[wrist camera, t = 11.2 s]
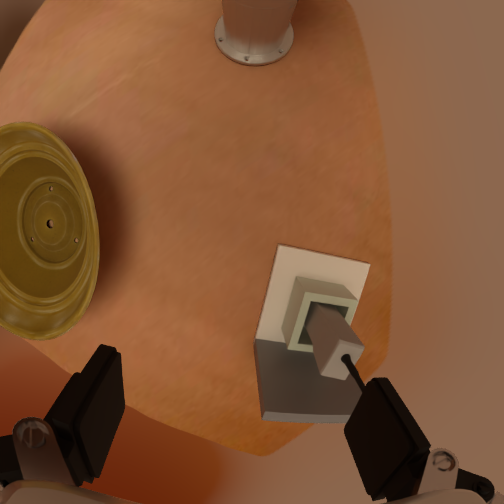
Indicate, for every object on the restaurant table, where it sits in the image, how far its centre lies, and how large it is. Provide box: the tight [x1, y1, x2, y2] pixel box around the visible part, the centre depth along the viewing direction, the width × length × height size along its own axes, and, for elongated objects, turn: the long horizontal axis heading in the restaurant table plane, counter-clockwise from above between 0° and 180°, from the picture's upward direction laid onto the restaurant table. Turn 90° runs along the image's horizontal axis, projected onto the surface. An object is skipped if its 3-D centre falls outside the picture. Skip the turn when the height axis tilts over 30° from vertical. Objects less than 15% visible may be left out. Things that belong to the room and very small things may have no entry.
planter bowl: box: [0, 122, 100, 341], centre depth 37 cm, size 32×32×13 cm
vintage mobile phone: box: [304, 301, 365, 392], centre depth 36 cm, size 4×5×25 cm
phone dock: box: [253, 243, 370, 423], centre depth 40 cm, size 18×16×19 cm
